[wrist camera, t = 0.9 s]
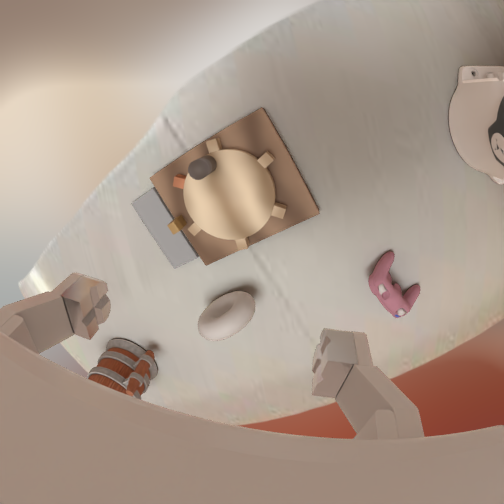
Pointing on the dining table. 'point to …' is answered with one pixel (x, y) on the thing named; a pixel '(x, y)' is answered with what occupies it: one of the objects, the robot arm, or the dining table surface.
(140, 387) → the mug
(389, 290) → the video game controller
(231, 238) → the index wheel
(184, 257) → the donut mat
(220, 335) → the donut
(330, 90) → the dining table surface
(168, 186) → the wheel base
